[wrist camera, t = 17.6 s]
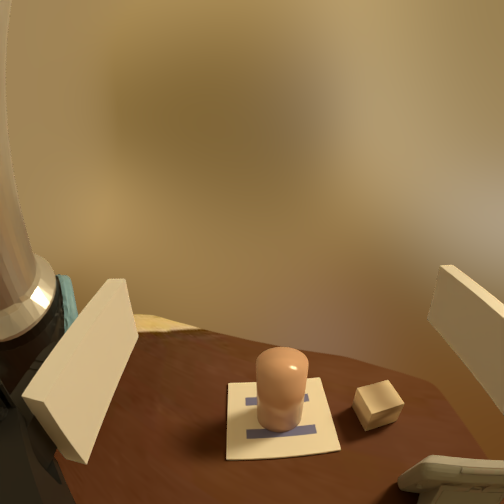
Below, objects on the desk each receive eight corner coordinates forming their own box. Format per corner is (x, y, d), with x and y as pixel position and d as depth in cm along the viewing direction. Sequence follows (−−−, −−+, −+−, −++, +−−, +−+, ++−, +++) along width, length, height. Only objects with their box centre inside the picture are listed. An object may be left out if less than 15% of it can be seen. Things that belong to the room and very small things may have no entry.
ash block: (364, 431, 33) (371, 413, 32) (351, 406, 38) (357, 388, 37) (395, 421, 34) (404, 403, 33) (381, 398, 39) (388, 379, 37)
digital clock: (505, 487, 18) (553, 437, 14) (488, 544, 11) (546, 505, 7) (407, 459, 28) (438, 406, 24) (375, 514, 21) (410, 473, 18)
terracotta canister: (258, 433, 34) (257, 382, 31) (256, 401, 40) (254, 348, 36) (304, 430, 34) (312, 378, 31) (298, 398, 40) (303, 345, 36)
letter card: (226, 460, 31) (226, 459, 30) (228, 384, 44) (228, 382, 44) (340, 450, 31) (340, 449, 31) (319, 378, 44) (319, 377, 44)
